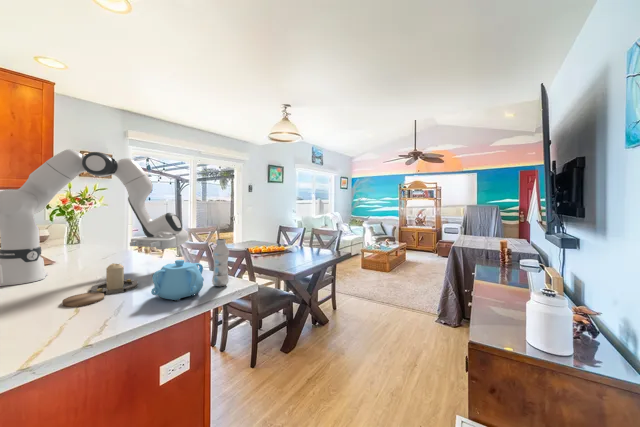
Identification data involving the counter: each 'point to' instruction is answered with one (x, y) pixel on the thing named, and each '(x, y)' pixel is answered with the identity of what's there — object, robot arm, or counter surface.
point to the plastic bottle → (220, 263)
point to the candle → (115, 276)
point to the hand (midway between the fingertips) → (140, 244)
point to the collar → (100, 289)
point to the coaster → (83, 299)
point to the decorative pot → (178, 280)
